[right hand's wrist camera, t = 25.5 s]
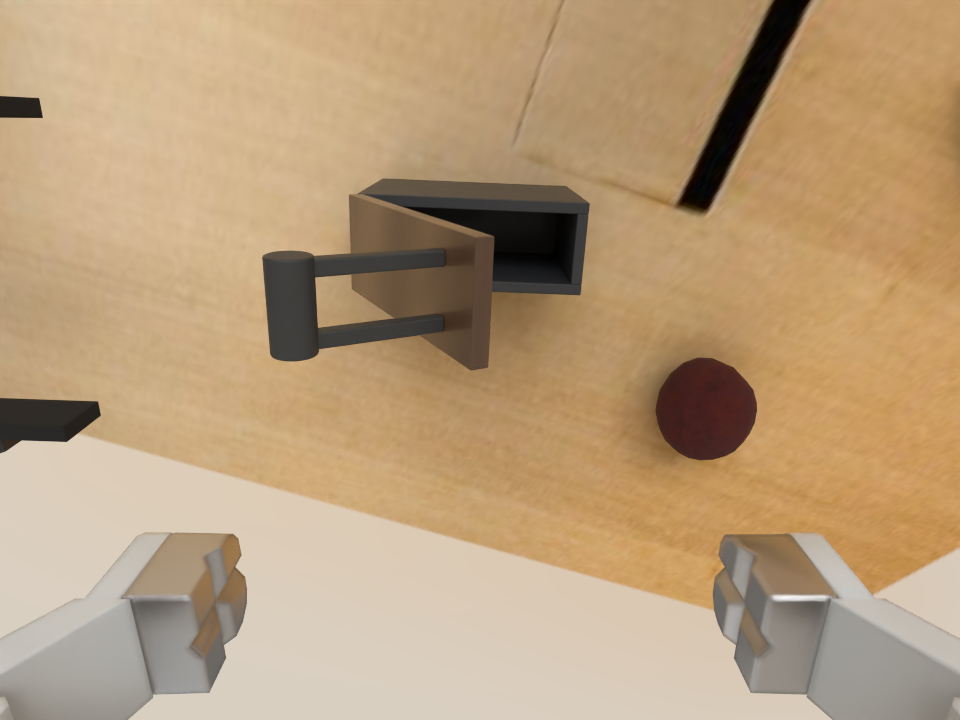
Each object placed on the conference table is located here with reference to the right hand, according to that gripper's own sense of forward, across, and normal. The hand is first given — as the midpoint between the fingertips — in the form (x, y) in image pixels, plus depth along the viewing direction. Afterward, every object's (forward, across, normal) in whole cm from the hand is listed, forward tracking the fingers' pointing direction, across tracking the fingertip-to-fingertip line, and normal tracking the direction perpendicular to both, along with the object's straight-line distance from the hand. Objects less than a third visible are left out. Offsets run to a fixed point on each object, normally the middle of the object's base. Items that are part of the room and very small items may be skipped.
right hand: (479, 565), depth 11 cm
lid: (+22, -3, 0) cm, 22 cm away
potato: (+39, +17, -13) cm, 44 cm away
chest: (+38, 0, 0) cm, 39 cm away
